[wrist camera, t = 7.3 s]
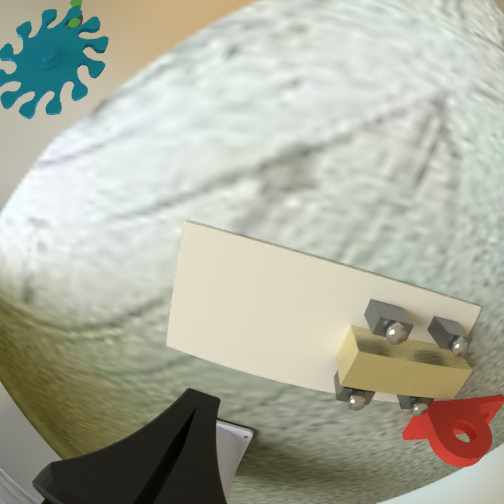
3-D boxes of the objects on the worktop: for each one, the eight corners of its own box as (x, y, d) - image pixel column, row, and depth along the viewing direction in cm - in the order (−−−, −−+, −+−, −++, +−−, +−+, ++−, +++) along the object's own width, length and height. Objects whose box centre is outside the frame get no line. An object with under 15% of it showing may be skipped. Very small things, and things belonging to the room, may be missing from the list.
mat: (423, 402, 19) (424, 404, 19) (168, 342, 21) (166, 345, 21) (479, 305, 16) (481, 307, 16) (186, 220, 18) (184, 221, 18)
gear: (79, 127, 16) (-28, 108, 10) (78, 134, 21) (-10, 118, 14) (136, 9, 15) (37, -13, 8) (121, 34, 19) (39, 15, 13)
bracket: (401, 432, 21) (417, 493, 13) (422, 401, 19) (447, 464, 12) (481, 422, 19) (503, 468, 12) (501, 394, 18) (530, 438, 10)
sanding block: (439, 375, 18) (453, 399, 15) (335, 357, 19) (340, 385, 16) (456, 348, 17) (472, 370, 14) (350, 325, 18) (358, 350, 15)
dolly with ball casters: (417, 390, 18) (428, 417, 15) (333, 377, 19) (337, 407, 16) (457, 321, 17) (477, 344, 13) (370, 298, 17) (383, 323, 14)
